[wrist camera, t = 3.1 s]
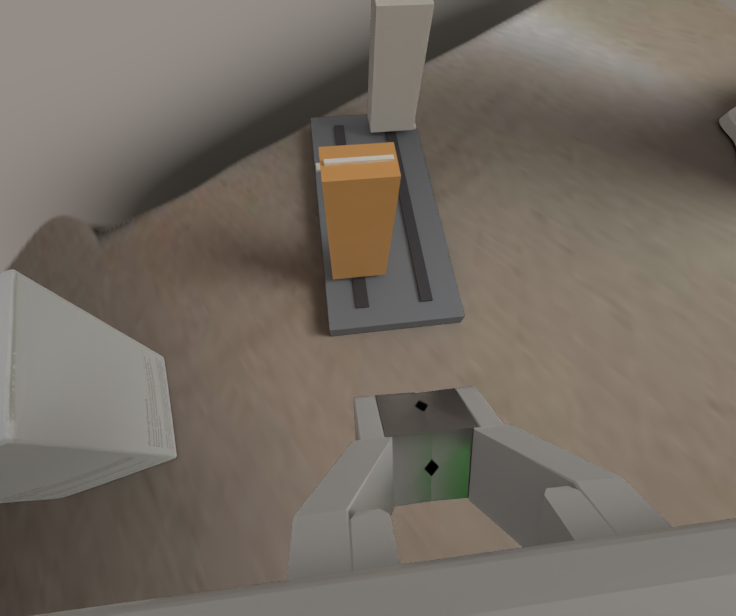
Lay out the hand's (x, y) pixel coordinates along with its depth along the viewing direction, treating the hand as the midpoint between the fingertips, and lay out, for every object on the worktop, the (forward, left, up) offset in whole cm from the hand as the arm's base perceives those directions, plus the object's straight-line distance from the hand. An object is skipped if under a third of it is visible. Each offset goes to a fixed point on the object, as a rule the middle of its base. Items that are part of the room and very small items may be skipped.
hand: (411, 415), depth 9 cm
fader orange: (-8, -10, -15) cm, 20 cm away
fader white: (-21, -19, -15) cm, 32 cm away
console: (-14, -14, -16) cm, 26 cm away
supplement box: (+11, -14, -17) cm, 24 cm away
